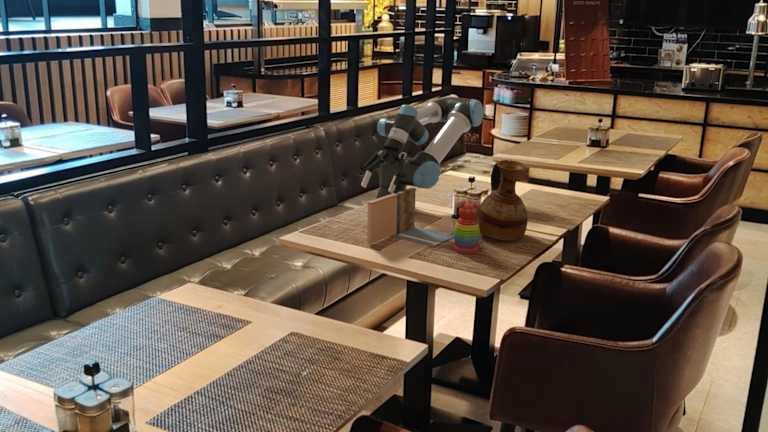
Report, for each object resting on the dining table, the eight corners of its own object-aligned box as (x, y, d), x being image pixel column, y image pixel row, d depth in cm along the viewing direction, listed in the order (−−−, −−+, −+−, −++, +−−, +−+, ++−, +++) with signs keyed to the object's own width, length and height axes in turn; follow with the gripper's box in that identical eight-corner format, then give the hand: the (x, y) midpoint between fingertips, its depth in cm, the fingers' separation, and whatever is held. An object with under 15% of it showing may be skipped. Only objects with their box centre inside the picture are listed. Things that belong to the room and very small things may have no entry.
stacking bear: (480, 246, 275) (483, 199, 270) (481, 255, 265) (483, 207, 260) (451, 244, 276) (453, 198, 271) (451, 253, 266) (453, 206, 261)
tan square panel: (392, 232, 286) (393, 193, 281) (396, 233, 284) (397, 194, 280) (366, 243, 273) (367, 201, 269) (371, 244, 272) (371, 202, 268)
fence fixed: (410, 226, 295) (411, 187, 290) (415, 227, 294) (416, 188, 289) (393, 233, 286) (394, 193, 281) (397, 234, 285) (398, 194, 280)
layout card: (408, 225, 297) (408, 224, 297) (455, 237, 284) (455, 235, 284) (385, 234, 286) (385, 233, 286) (433, 246, 273) (433, 245, 273)
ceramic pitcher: (492, 247, 273) (497, 168, 265) (465, 231, 291) (468, 157, 282) (536, 241, 281) (542, 164, 273) (507, 226, 299) (512, 153, 290)
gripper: (367, 133, 300) (347, 180, 296) (417, 141, 286) (397, 190, 281) (376, 141, 306) (357, 187, 302) (426, 149, 292) (406, 198, 287)
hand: (376, 189), depth 292 cm, fingers open, 13 cm apart
